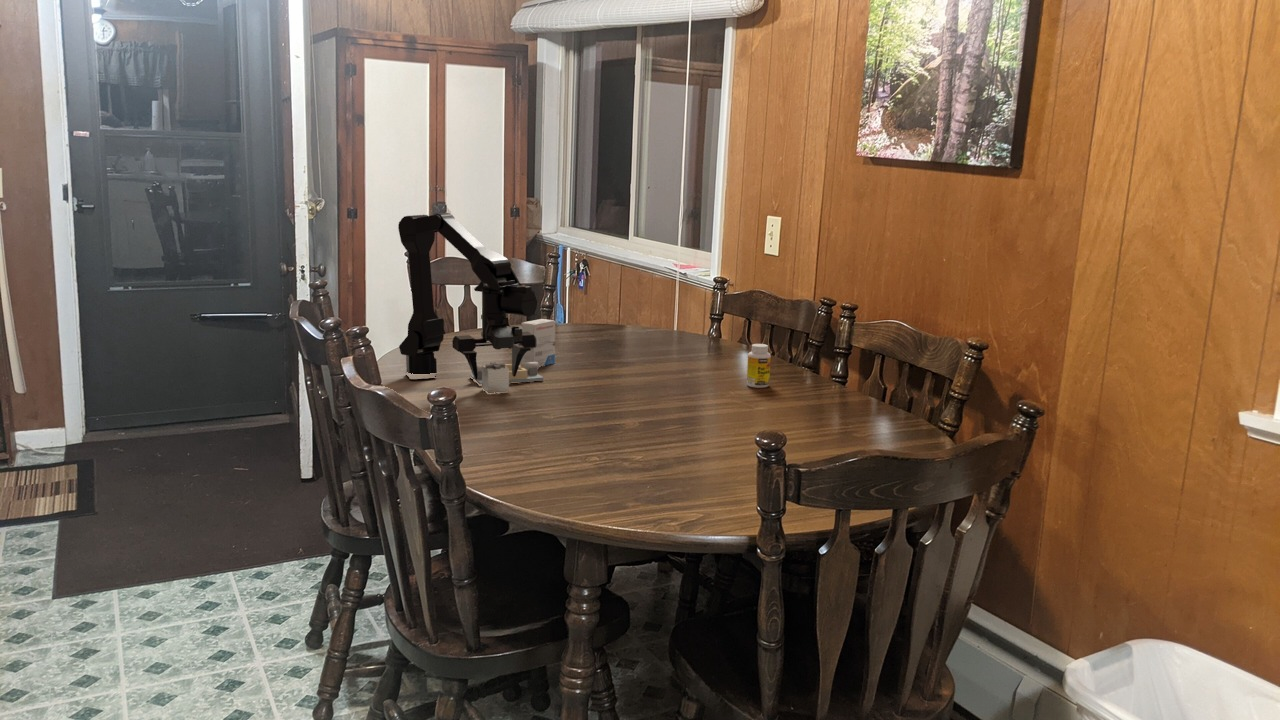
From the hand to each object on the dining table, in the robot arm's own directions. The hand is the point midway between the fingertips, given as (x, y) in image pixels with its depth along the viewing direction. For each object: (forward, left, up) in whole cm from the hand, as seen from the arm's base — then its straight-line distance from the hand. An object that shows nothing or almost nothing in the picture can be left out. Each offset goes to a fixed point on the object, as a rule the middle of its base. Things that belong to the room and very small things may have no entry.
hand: (495, 377), depth 233 cm
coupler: (0, 0, -3) cm, 3 cm away
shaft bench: (+6, +10, -3) cm, 13 cm away
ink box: (+19, +24, -4) cm, 31 cm away
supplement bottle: (+62, -16, -4) cm, 64 cm away
